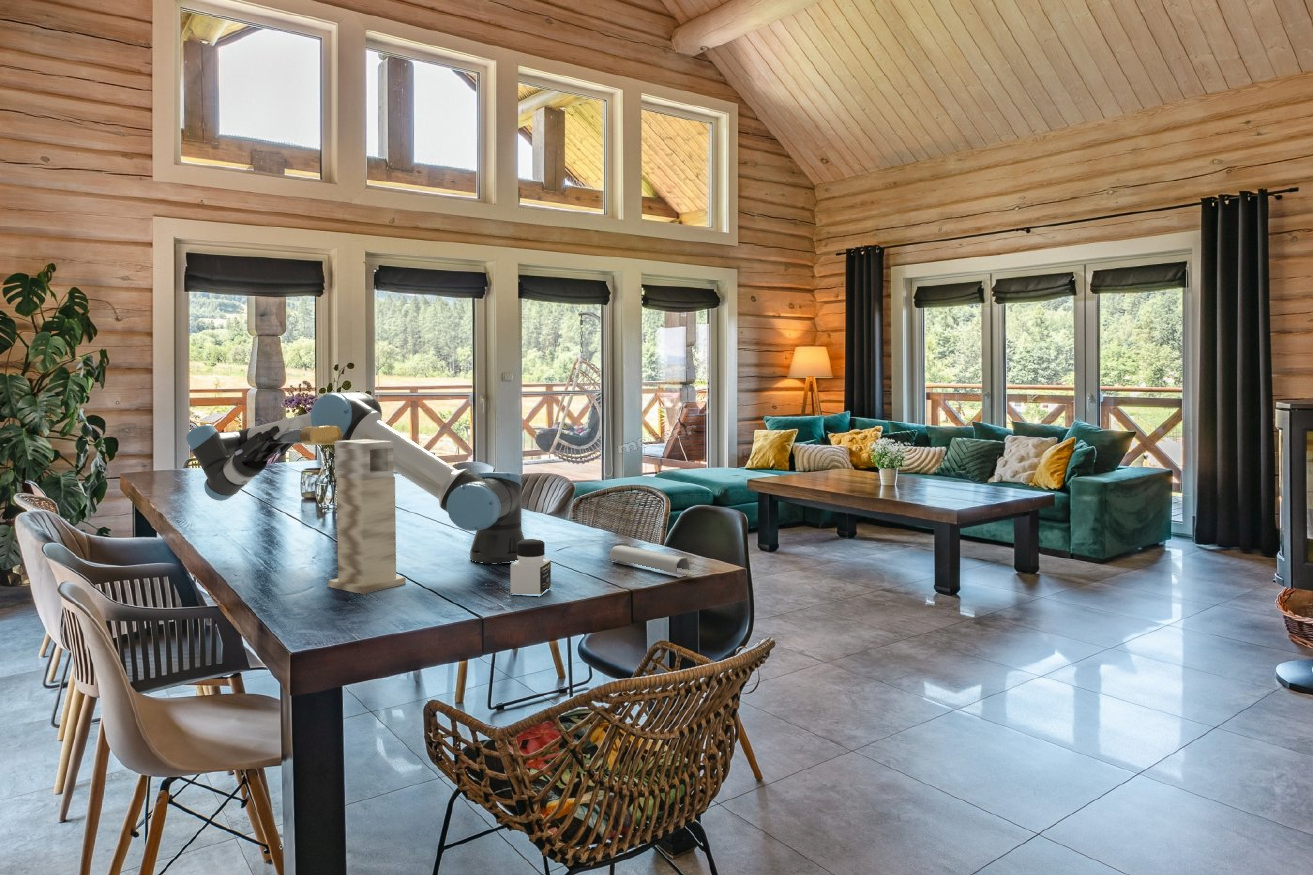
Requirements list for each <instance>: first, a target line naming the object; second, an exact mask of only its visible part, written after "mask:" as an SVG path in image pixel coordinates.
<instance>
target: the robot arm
mask: <svg viewBox="0 0 1313 875" xmlns="http://www.w3.org/2000/svg"><path fill="white" fill-rule="evenodd" d="M382 410H383V409H382V408H381V405H380V403H379V401H378V400H377V399H376V398H375V397H373V395H370V393H366V392H362V391H361V392H360V391H353V392H337V391H336V392H335V391H334V392H330V393H325V394H324V395H320V396H319V398H318V399H316V400H315V402H314V404H313V405H312V407H311V410H310V412H308V413H305V414H300V415H297V416H296V415H295V416H293V417H287V416H284V417H283V418H282V419H279V420H276V421H273V422H268V423H265V424H261V425H257V426H252V427H248V428H244V429H240V430H233V431H222V432H221V431H220V432H219V431H218V429H216V428H215V426H214V425H213V424H211V423H207V424H201V425H199V426H197V427H195V428H193V429H191V430H190V431H188V433H187V434H186V436H185V440H186V442H187V445H189V448H190V451H191V452H192V454H193V456H194V457H195V458H196V461H197V462H198V464H199V466H200V467H201V469H202V470H203V472H204V475H205V476H206V477H207V478H206V479H205V482H204V485H203V486H204V491H205V493H206V495H207V496H208V497H209V498H210V499H213V500H214V501H220V502H221V501H222V502H223V501H226V500H229V499H231V498H232V497H234V496H235V495H236V494H238V493H239V491H241V489H242V488H244V487H245V485H247V484H248V483H249V482H250V481H252V480H253V479H254V478H255V477H257V475H259V474H260V473H261V472H263V471H264V470H265V468H266V467H267V465H268V463H269V462H268V461H269V460H270V459H271V458H274V456H275V455H280V456H281V457H282V456H285V455H286V453H287V452H288V451H289V450H290V449H291V448H292V447H293V446H297V445H301V444H303V443H274V441H273V438H274V439H278V438H279V437H280V436H281V435H282V434H283V433H285V432H286V431H287V430H302V429H303V428H305V427H317V426H338V427H339V428H340V429H341V430H342V433H343V438H342V441H345V440H359V439H369V440H382V441H393V465H394V472H396V473H398V474H399V475H401V476H402V477H404V478H405V479H407V480H409V481H410V482H411V483H413V484H414V485H416V486H417V487H420V488H421V489H422V490H424V491H425V492H427V493H428V494H430V495H431V496H433V497H435V498H436V499H437V500H438V503H439V508H440V509H442V510H443V511H445V512H447V513H448V517H449V519H450V521H451V522H452V523H453V524H454V525H455V526H457V527H458V528H460V529H462V530H464V531H470V532H475V534H474V538H473V541H472V544H471V546H470V547H471V548H470V551H469V560H470V559H471V560H473V561H476V562H483V563H502V562H510V561H515V560H519V559H518V558H517V543H518V542H519V541H521V540H523V539H525V537H524V533H523V531H522V492H523V491H522V489H523V483H522V477H521V475H520V474H519V473H517V472H497V471H494V472H493V471H479V472H477V473H474V472H473V471H472V470H470V469H468V468H463V469H457V468H456V467H454V466H452V465H451V464H449V463H447V462H446V461H445V460H443V459H441V458H440V457H439V456H437V455H435V454H433V453H432V452H431V451H429V450H428V449H426V448H424V447H423V446H421V445H419V444H418V443H417V442H415V441H413V440H412V439H410V438H409V437H407V436H406V435H404V434H402V433H401V432H400V431H398V430H396V429H394V428H393V427H391V426H390V425H388V424H387V423H385V422H384V421H383V420H382V418H383V412H382ZM471 560H470V561H471ZM473 561H472V562H473ZM476 562H475V563H476Z"/></svg>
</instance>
